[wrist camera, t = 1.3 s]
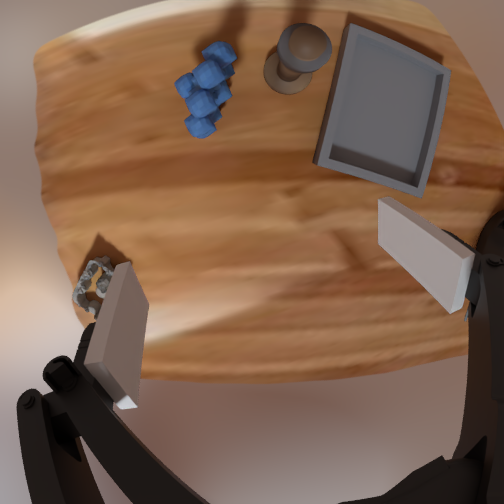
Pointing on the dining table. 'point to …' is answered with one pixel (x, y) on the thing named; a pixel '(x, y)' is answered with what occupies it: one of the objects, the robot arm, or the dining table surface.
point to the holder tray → (383, 112)
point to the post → (297, 58)
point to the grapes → (207, 88)
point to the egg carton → (101, 283)
